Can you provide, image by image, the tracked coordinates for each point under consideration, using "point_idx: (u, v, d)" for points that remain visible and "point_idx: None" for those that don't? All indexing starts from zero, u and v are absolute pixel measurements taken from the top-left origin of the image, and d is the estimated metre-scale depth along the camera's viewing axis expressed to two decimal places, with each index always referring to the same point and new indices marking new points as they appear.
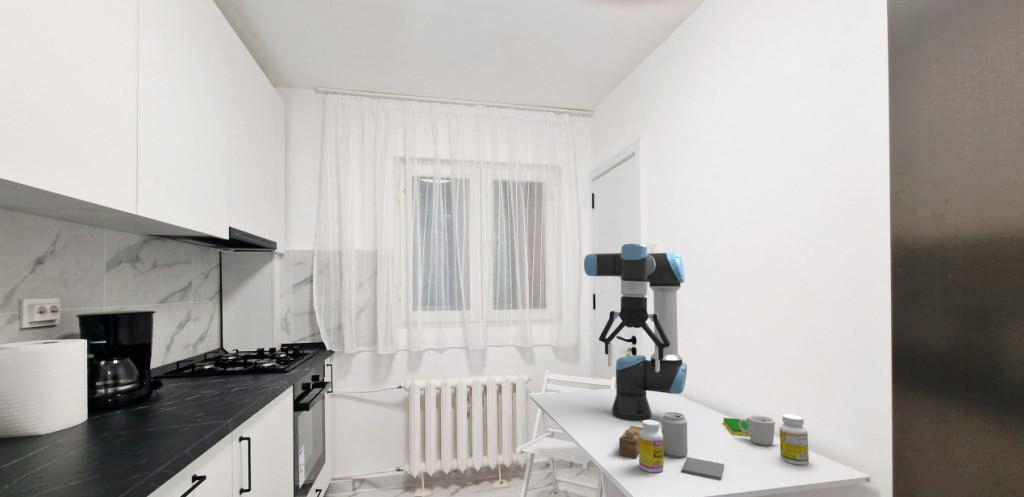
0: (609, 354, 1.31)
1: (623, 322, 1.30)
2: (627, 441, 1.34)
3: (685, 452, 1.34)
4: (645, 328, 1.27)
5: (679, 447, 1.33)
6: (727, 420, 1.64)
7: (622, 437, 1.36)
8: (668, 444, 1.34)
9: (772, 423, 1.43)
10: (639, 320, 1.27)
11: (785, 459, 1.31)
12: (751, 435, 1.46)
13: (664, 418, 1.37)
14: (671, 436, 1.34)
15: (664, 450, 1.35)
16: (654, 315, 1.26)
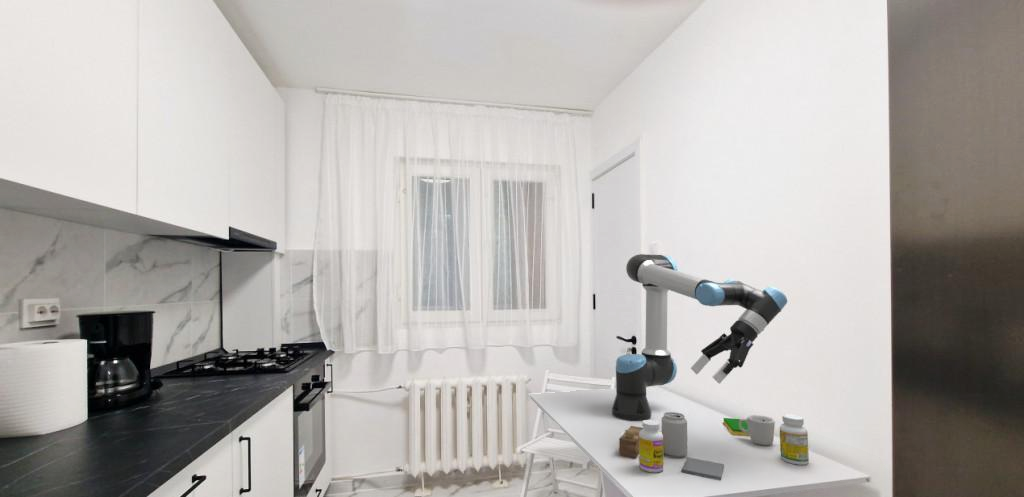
0: None
1: None
2: (627, 441, 1.34)
3: (685, 452, 1.34)
4: None
5: (679, 447, 1.33)
6: (727, 420, 1.64)
7: (622, 437, 1.36)
8: (668, 444, 1.34)
9: (772, 423, 1.43)
10: None
11: (785, 459, 1.31)
12: (751, 435, 1.46)
13: (664, 418, 1.37)
14: (671, 436, 1.34)
15: (664, 450, 1.35)
16: None
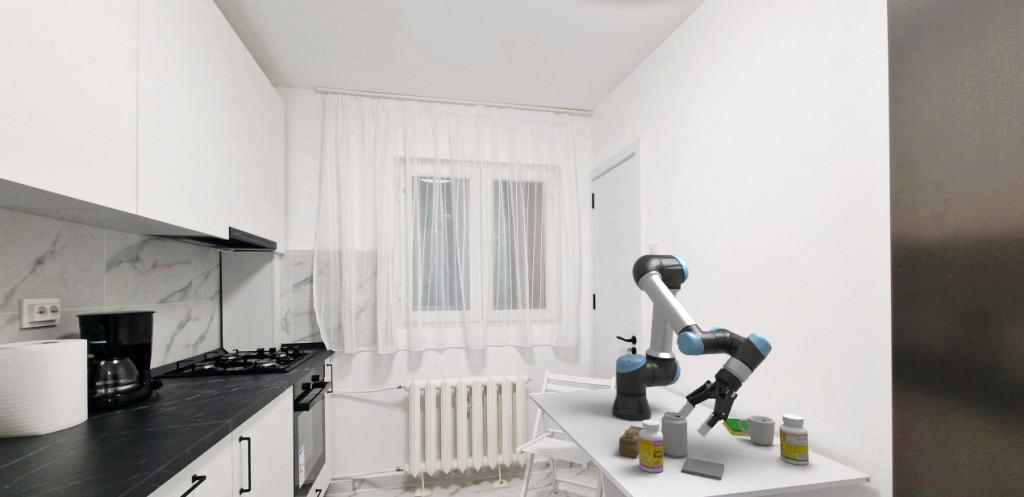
0: None
1: None
2: (627, 441, 1.34)
3: (685, 452, 1.34)
4: None
5: (679, 447, 1.33)
6: (727, 420, 1.64)
7: (622, 437, 1.36)
8: (668, 444, 1.34)
9: (772, 423, 1.43)
10: None
11: (785, 459, 1.31)
12: (751, 435, 1.46)
13: (664, 418, 1.37)
14: (671, 436, 1.34)
15: (664, 450, 1.35)
16: None
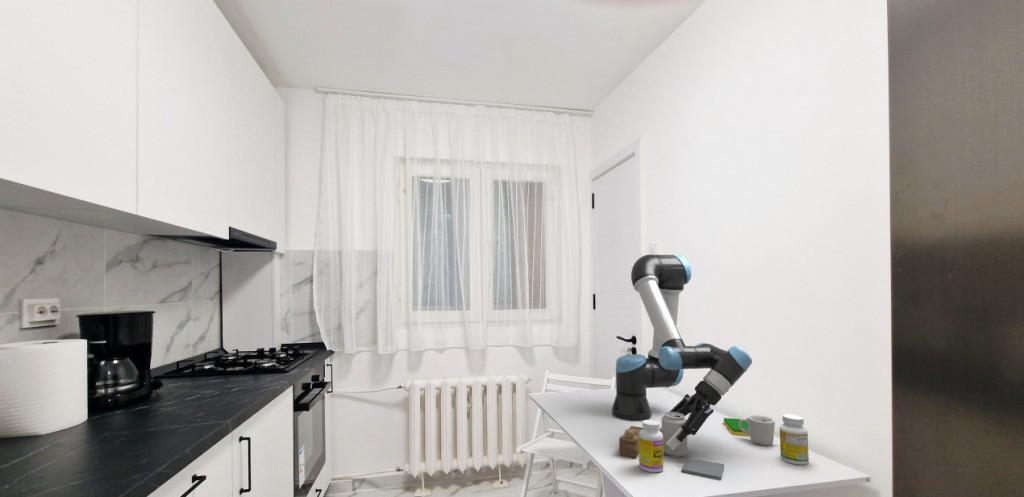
0: None
1: None
2: (627, 441, 1.34)
3: (685, 452, 1.34)
4: None
5: (679, 447, 1.33)
6: (727, 420, 1.64)
7: (622, 437, 1.36)
8: None
9: (772, 423, 1.43)
10: None
11: (785, 459, 1.31)
12: (751, 435, 1.46)
13: (664, 418, 1.37)
14: (671, 436, 1.34)
15: (664, 450, 1.35)
16: None
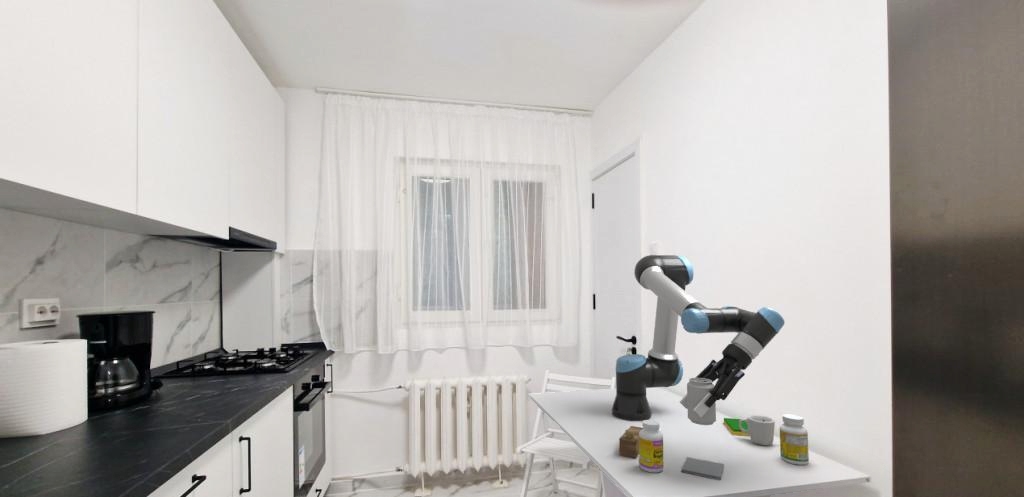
0: None
1: None
2: (627, 441, 1.34)
3: (713, 419, 1.23)
4: None
5: (707, 414, 1.23)
6: (727, 420, 1.64)
7: (622, 437, 1.36)
8: (694, 411, 1.24)
9: (772, 423, 1.43)
10: None
11: (785, 459, 1.31)
12: (751, 435, 1.46)
13: (690, 383, 1.26)
14: (698, 402, 1.24)
15: (690, 418, 1.25)
16: None
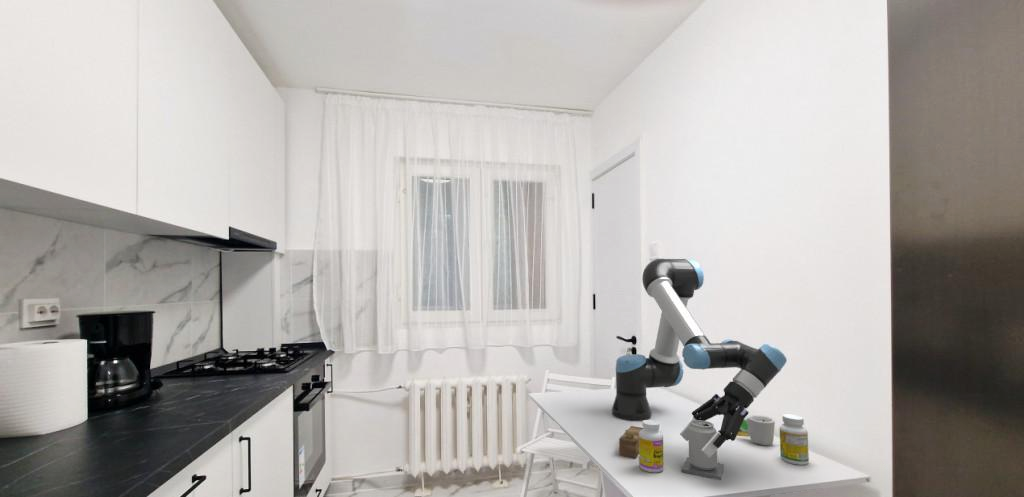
0: None
1: None
2: (627, 441, 1.34)
3: (715, 464, 1.22)
4: None
5: (708, 459, 1.22)
6: None
7: (622, 437, 1.36)
8: (695, 455, 1.23)
9: (772, 423, 1.43)
10: None
11: (785, 459, 1.31)
12: (751, 435, 1.46)
13: (691, 427, 1.26)
14: (699, 447, 1.23)
15: (691, 462, 1.24)
16: None
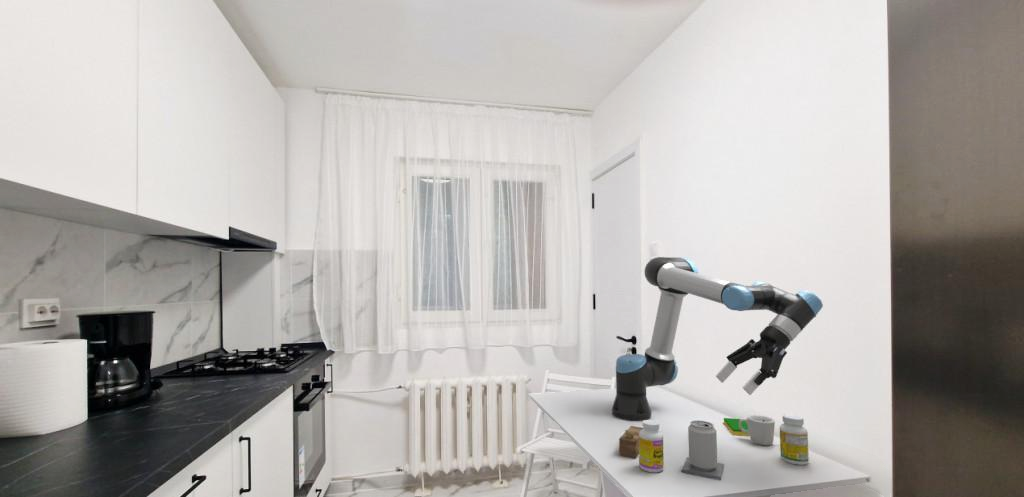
0: None
1: None
2: (627, 441, 1.34)
3: (715, 465, 1.22)
4: None
5: (708, 459, 1.22)
6: (727, 420, 1.64)
7: (622, 437, 1.36)
8: (695, 456, 1.23)
9: (772, 423, 1.43)
10: None
11: (785, 459, 1.31)
12: (751, 435, 1.46)
13: (691, 427, 1.26)
14: (699, 447, 1.23)
15: (691, 462, 1.24)
16: None
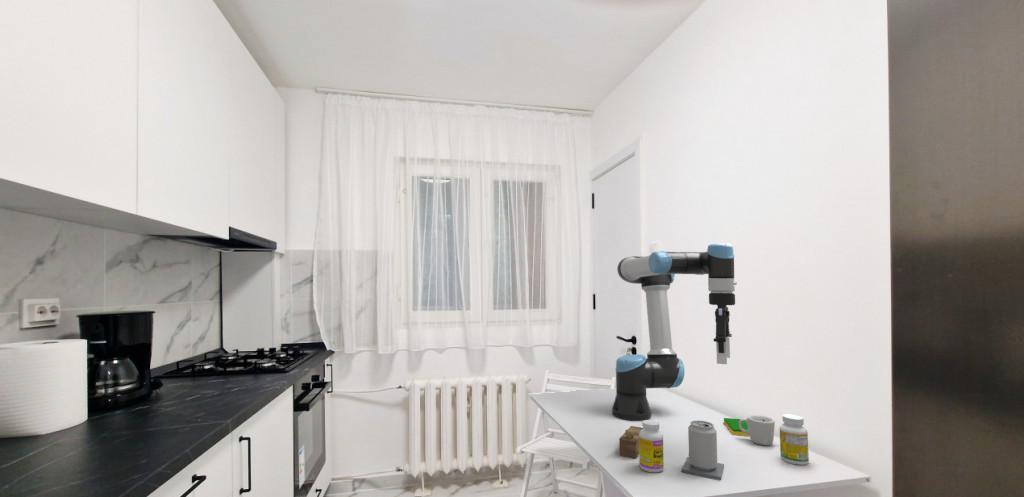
0: (726, 352, 1.32)
1: (727, 318, 1.36)
2: (627, 441, 1.34)
3: (715, 465, 1.22)
4: None
5: (708, 459, 1.22)
6: (727, 420, 1.64)
7: (622, 437, 1.36)
8: (695, 456, 1.23)
9: (772, 423, 1.43)
10: None
11: (785, 459, 1.31)
12: (751, 435, 1.46)
13: (691, 427, 1.26)
14: (699, 447, 1.23)
15: (691, 462, 1.24)
16: (727, 308, 1.44)
